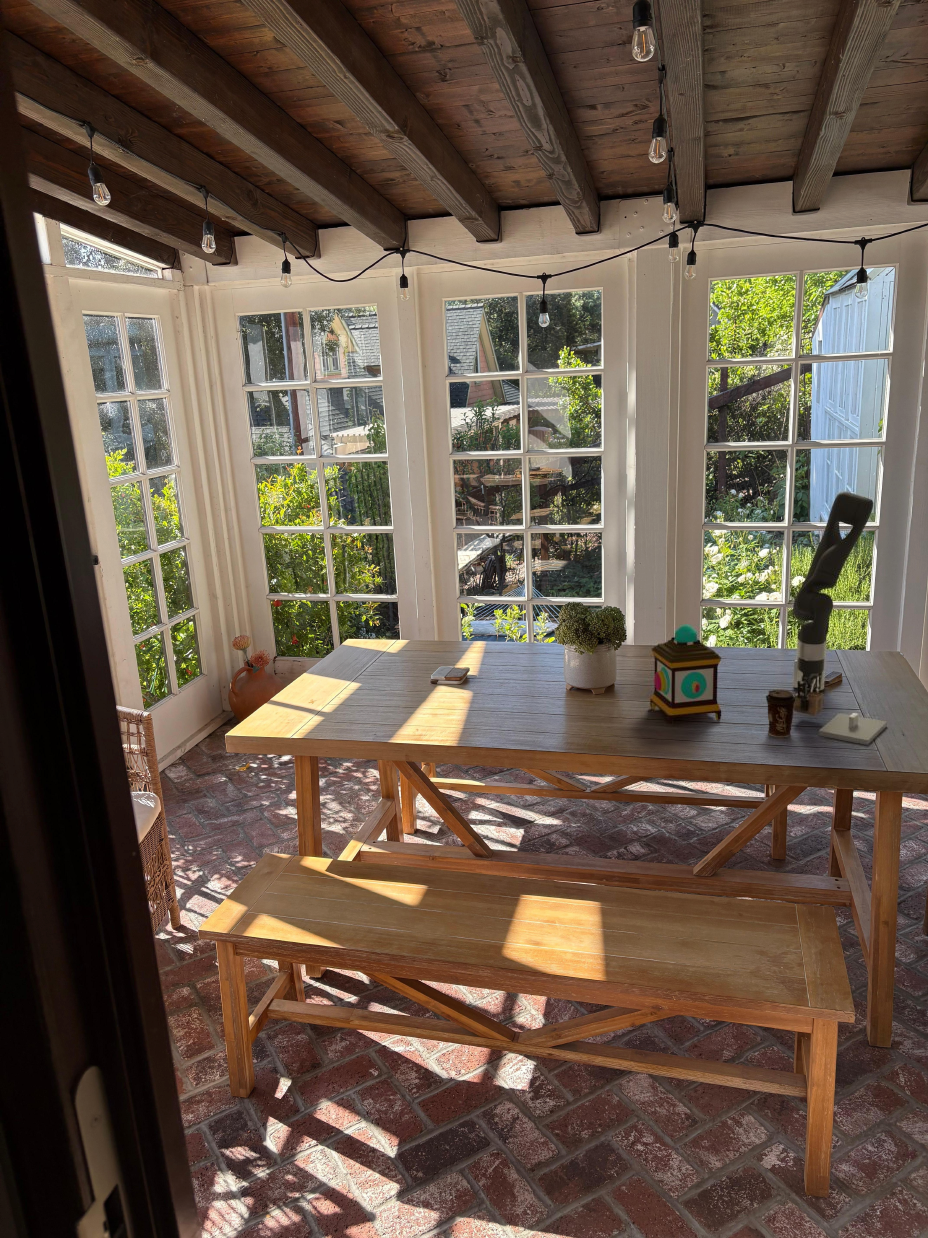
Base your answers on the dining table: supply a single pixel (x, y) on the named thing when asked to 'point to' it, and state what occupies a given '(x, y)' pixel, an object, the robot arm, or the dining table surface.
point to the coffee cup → (780, 712)
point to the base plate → (853, 729)
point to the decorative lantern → (685, 676)
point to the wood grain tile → (853, 720)
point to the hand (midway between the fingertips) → (808, 707)
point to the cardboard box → (810, 704)
